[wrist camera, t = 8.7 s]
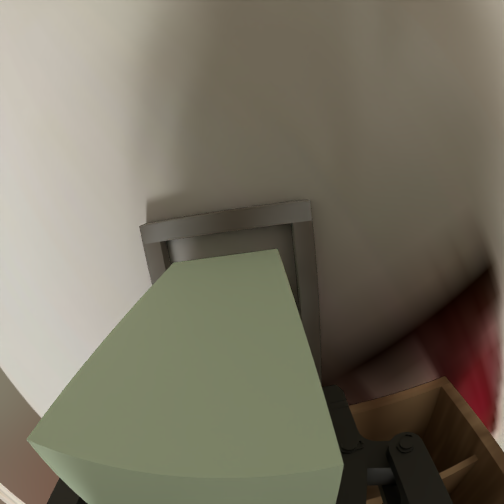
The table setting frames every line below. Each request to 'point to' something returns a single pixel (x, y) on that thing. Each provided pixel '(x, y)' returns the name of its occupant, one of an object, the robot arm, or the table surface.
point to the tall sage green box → (199, 397)
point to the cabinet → (374, 411)
